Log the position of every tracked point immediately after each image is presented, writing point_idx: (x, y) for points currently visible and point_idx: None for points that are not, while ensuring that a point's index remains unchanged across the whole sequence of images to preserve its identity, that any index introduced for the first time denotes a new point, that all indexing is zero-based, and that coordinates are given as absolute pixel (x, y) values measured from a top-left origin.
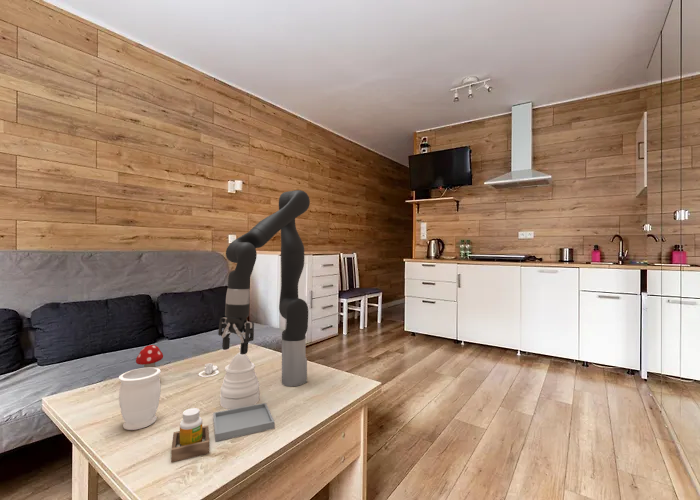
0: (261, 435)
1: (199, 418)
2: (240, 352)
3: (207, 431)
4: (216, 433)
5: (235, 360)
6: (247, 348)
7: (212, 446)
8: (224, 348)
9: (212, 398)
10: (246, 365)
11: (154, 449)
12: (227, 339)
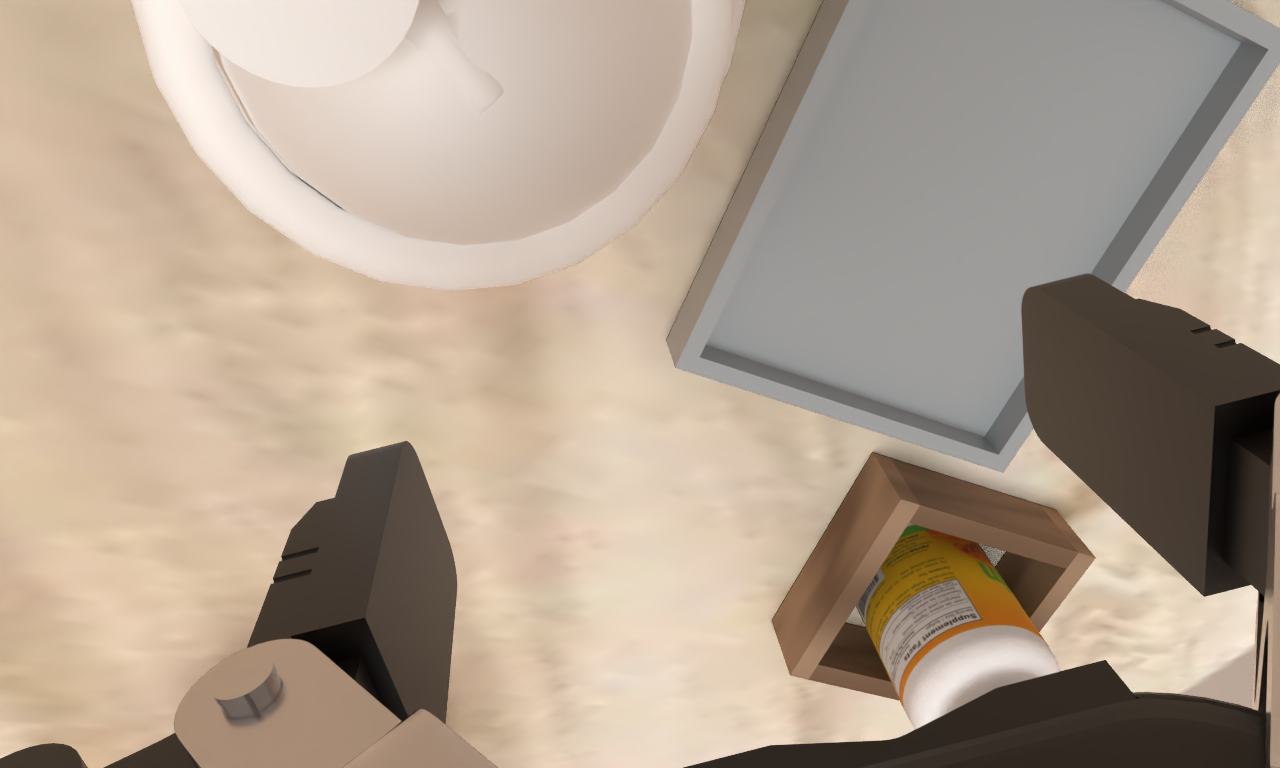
0: (1216, 170)
1: (1032, 670)
2: (1060, 448)
3: (975, 529)
4: (998, 463)
5: (527, 210)
6: (1224, 346)
7: (1008, 473)
8: (447, 575)
9: (202, 174)
10: (673, 7)
11: (746, 698)
12: (405, 672)
